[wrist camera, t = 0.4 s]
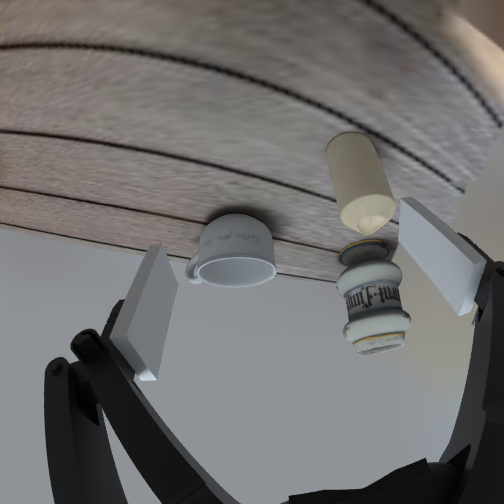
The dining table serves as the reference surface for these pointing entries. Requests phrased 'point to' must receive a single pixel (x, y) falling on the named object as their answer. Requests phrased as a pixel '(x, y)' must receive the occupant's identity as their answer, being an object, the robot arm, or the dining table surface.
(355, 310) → the apothecary jar
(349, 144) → the candle
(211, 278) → the teacup
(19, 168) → the dining table surface
